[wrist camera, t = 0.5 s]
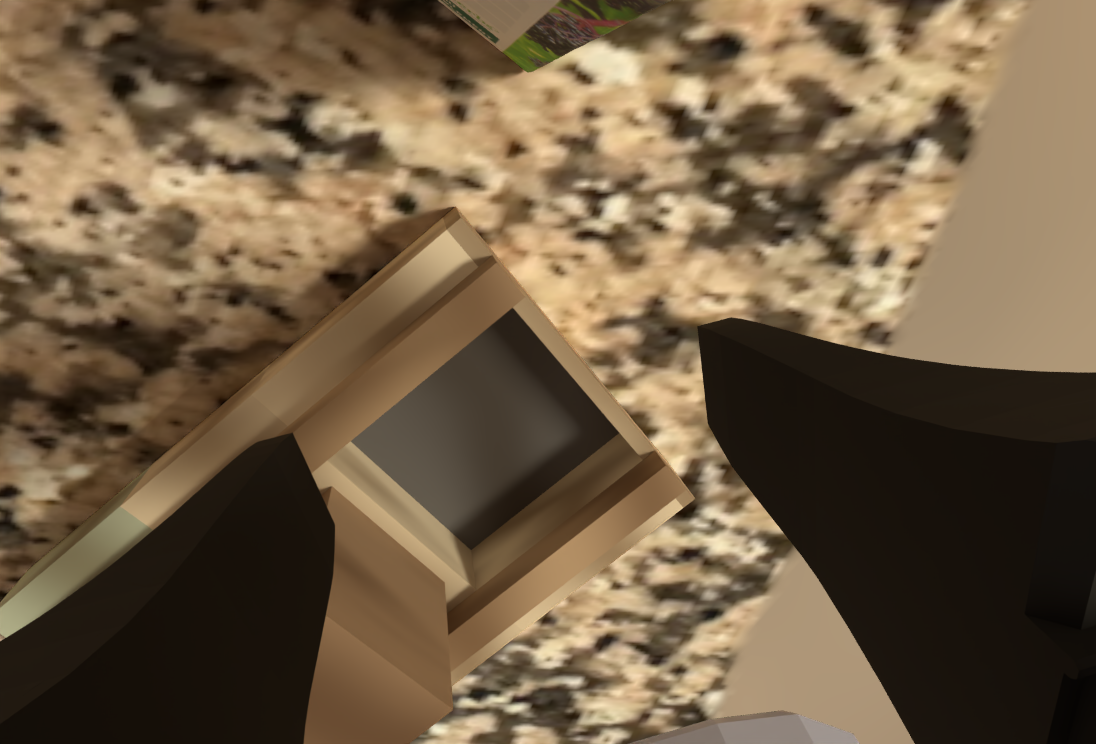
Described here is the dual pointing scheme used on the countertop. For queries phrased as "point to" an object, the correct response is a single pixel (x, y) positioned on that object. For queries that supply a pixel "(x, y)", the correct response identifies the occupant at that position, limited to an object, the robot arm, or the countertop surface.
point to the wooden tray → (424, 446)
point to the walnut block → (378, 640)
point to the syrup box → (545, 24)
